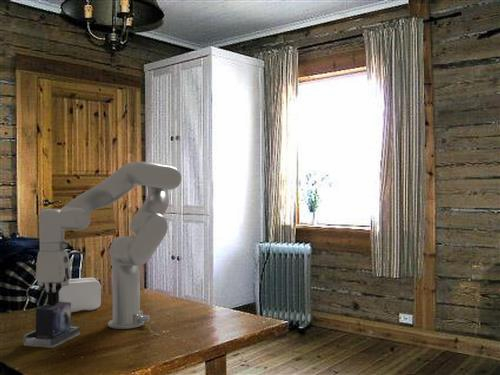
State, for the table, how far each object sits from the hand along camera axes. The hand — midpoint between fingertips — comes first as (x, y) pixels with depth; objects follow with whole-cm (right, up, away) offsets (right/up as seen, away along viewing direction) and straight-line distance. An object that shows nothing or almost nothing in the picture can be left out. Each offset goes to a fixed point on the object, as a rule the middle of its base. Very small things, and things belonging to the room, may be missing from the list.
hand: (53, 303), depth 164 cm
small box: (0, -11, 0) cm, 11 cm away
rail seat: (0, -12, 0) cm, 12 cm away
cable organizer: (-5, -12, +42) cm, 44 cm away
